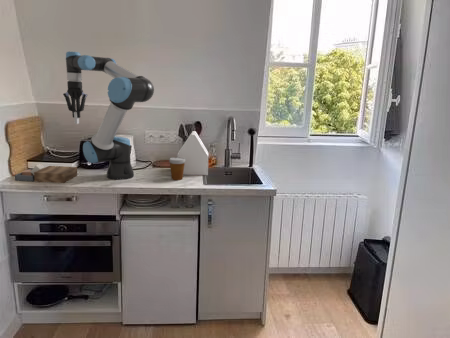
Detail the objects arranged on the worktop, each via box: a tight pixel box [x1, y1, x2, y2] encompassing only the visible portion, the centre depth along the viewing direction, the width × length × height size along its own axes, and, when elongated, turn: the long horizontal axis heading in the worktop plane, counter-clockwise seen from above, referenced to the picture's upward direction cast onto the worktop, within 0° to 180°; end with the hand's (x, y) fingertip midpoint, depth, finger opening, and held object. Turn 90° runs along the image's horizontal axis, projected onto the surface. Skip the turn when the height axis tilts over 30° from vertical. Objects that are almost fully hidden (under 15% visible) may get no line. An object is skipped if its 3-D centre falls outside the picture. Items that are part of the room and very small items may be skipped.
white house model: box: [176, 130, 209, 176], centre depth 221 cm, size 19×15×25 cm
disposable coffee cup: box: [168, 156, 186, 181], centre depth 204 cm, size 10×10×12 cm
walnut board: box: [34, 165, 78, 184], centre depth 194 cm, size 16×16×5 cm
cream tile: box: [30, 163, 46, 175], centre depth 194 cm, size 5×5×3 cm
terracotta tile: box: [21, 169, 33, 176], centre depth 194 cm, size 5×5×3 cm
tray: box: [14, 167, 35, 182], centre depth 195 cm, size 10×16×3 cm, turn 179°
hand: (76, 123), depth 201 cm, fingers closed
